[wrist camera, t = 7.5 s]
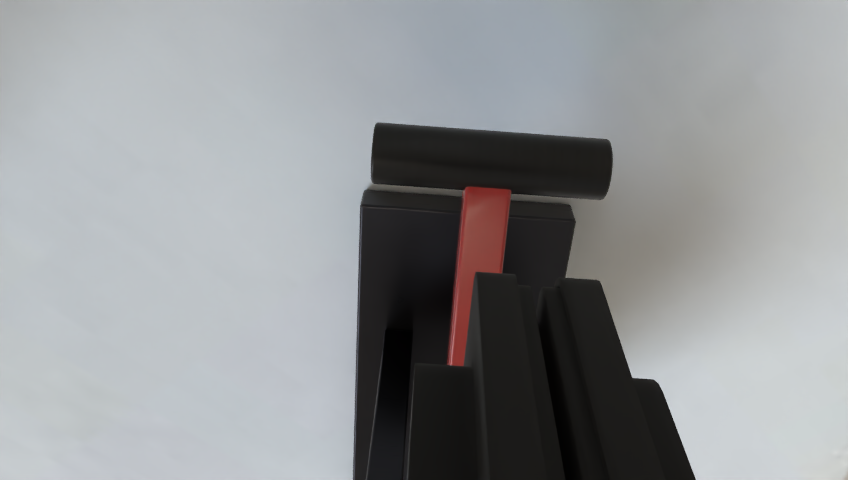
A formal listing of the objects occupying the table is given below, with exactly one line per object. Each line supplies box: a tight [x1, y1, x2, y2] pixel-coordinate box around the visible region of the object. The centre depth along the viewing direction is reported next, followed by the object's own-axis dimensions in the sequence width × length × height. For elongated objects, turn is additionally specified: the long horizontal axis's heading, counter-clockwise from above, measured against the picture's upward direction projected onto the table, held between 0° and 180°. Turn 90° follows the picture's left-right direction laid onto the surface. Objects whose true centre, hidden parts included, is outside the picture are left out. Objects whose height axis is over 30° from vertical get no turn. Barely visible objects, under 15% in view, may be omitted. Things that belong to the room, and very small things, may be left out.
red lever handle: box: [371, 123, 613, 366], centre depth 19 cm, size 13×6×2 cm, turn 176°
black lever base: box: [353, 190, 576, 480], centre depth 23 cm, size 14×7×10 cm, turn 176°
